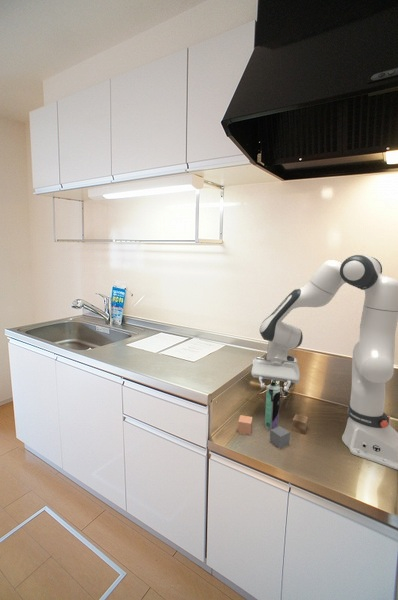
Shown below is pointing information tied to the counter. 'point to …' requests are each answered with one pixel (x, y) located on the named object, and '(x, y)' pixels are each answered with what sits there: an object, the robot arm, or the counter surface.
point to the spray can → (272, 406)
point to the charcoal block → (279, 437)
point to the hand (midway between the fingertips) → (273, 389)
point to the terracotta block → (245, 425)
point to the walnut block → (300, 424)
